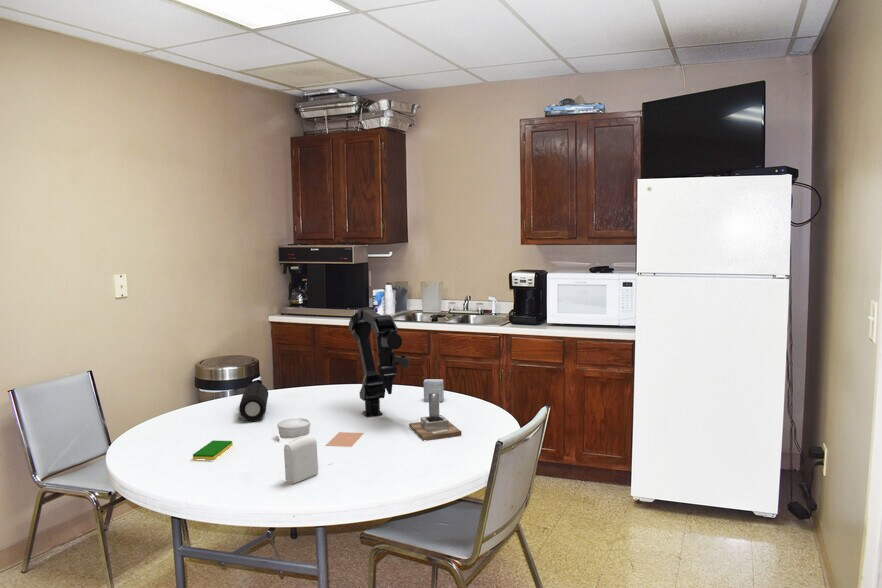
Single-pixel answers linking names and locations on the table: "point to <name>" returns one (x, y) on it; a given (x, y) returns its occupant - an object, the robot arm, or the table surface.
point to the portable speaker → (254, 402)
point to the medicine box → (433, 388)
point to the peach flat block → (344, 439)
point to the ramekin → (293, 427)
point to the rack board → (434, 429)
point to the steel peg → (434, 407)
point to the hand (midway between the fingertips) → (389, 393)
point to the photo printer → (300, 459)
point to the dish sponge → (212, 450)
